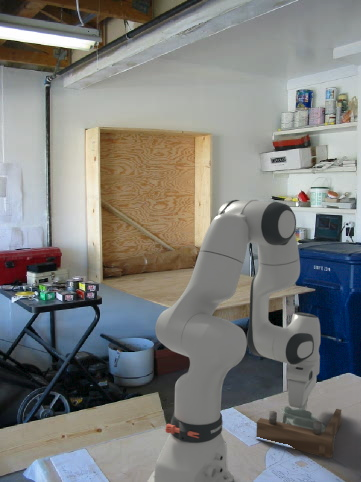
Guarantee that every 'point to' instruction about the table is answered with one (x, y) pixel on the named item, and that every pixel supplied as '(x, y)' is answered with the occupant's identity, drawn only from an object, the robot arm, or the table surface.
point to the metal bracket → (300, 418)
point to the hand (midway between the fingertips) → (302, 410)
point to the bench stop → (301, 434)
